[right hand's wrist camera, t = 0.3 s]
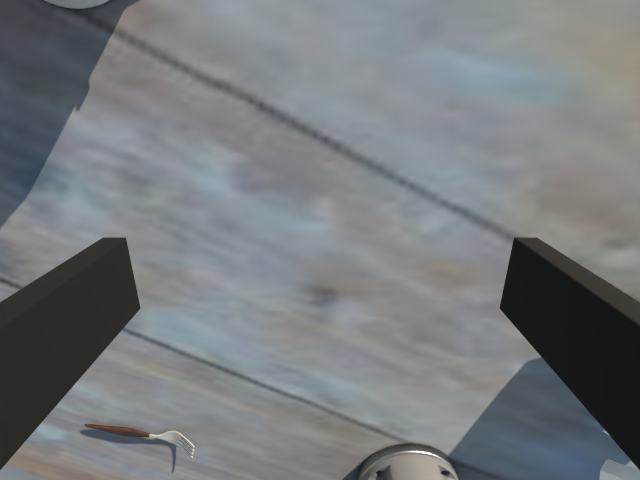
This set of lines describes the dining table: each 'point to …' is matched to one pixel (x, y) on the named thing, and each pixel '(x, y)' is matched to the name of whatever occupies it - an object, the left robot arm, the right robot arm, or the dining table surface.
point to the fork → (148, 435)
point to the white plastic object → (618, 470)
